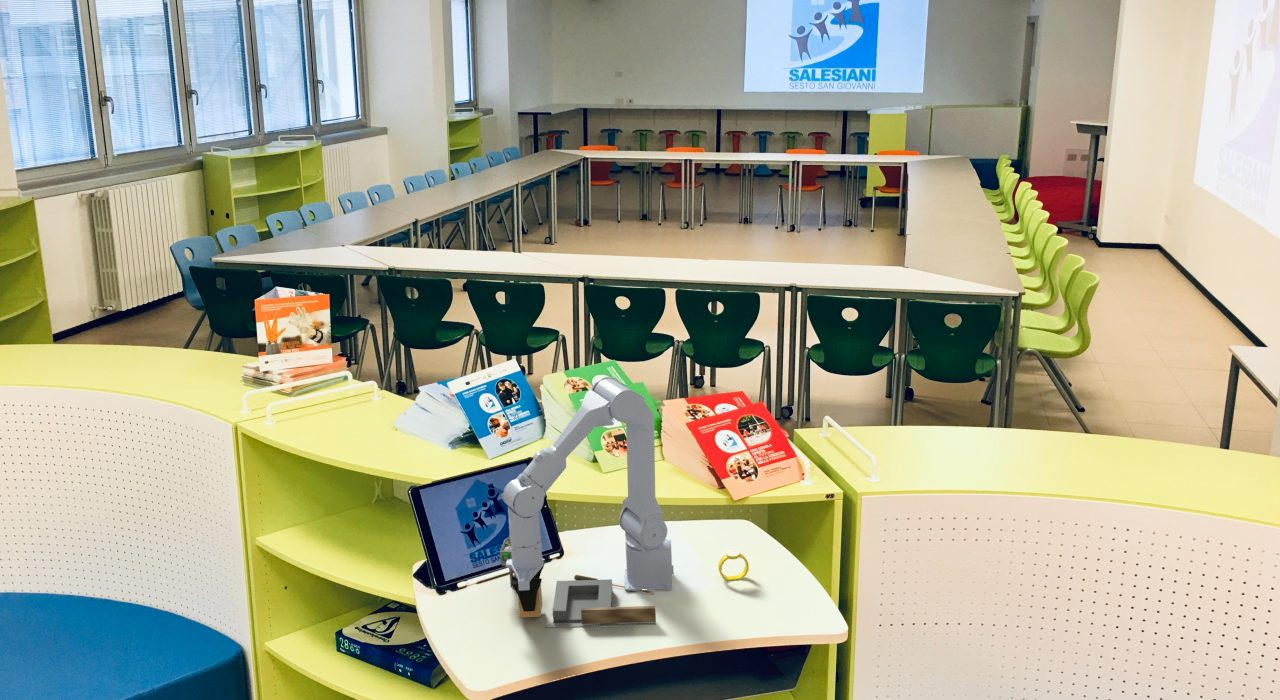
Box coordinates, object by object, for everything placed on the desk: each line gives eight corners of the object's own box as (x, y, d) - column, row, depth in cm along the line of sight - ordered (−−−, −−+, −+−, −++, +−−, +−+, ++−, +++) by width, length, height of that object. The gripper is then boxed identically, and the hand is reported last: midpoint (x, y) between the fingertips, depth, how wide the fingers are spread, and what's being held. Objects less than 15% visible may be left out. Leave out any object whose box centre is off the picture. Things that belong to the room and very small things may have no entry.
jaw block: (542, 605, 212) (540, 578, 210) (540, 616, 208) (538, 589, 206) (521, 606, 212) (519, 578, 210) (519, 617, 208) (517, 589, 206)
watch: (721, 585, 220) (719, 558, 218) (718, 578, 222) (716, 552, 220) (750, 579, 220) (748, 553, 218) (747, 572, 223) (744, 547, 221)
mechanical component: (526, 572, 226) (523, 528, 223) (516, 598, 216) (512, 553, 213) (512, 571, 226) (509, 528, 223) (501, 598, 217) (498, 553, 214)
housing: (654, 589, 218) (654, 578, 217) (655, 624, 206) (655, 612, 205) (550, 592, 218) (549, 581, 217) (544, 627, 206) (544, 615, 205)
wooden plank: (655, 619, 207) (655, 605, 206) (655, 622, 206) (655, 608, 205) (582, 621, 207) (581, 608, 206) (581, 624, 206) (581, 610, 205)
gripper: (508, 523, 212) (513, 584, 216) (499, 560, 198) (505, 625, 202) (544, 522, 212) (549, 583, 216) (538, 559, 198) (543, 624, 202)
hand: (530, 603), depth 209 cm, fingers closed on jaw block, 4 cm apart
